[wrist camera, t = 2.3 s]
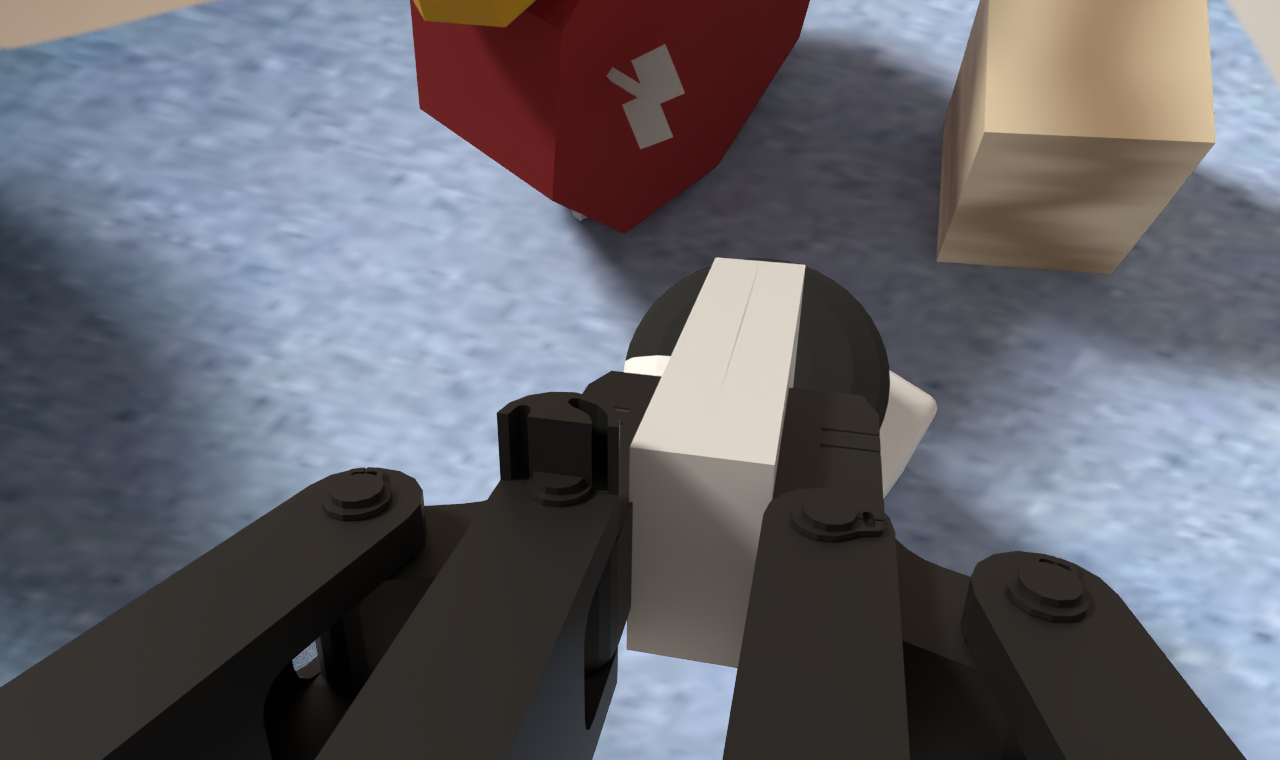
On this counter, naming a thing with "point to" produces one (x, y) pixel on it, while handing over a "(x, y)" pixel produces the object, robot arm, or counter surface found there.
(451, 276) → the counter surface
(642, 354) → the medicine bottle
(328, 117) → the counter surface
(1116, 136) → the beech block
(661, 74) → the alarm clock
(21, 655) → the counter surface
